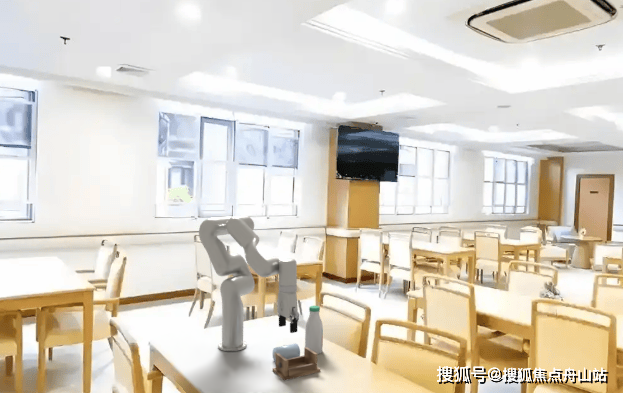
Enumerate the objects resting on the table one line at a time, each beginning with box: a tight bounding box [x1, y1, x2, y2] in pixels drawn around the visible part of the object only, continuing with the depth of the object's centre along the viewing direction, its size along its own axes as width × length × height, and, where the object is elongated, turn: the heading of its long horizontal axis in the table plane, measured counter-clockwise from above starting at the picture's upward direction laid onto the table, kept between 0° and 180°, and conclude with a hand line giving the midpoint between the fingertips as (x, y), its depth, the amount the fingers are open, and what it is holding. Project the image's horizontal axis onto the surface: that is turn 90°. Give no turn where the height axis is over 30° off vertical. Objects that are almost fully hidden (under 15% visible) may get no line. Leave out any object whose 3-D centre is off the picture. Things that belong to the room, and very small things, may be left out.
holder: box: [272, 346, 321, 381], centre depth 172 cm, size 10×16×7 cm, turn 122°
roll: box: [272, 343, 301, 363], centre depth 183 cm, size 10×6×6 cm, turn 122°
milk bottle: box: [304, 305, 324, 355], centre depth 193 cm, size 8×8×20 cm
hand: (287, 329), depth 183 cm, fingers open, 9 cm apart
